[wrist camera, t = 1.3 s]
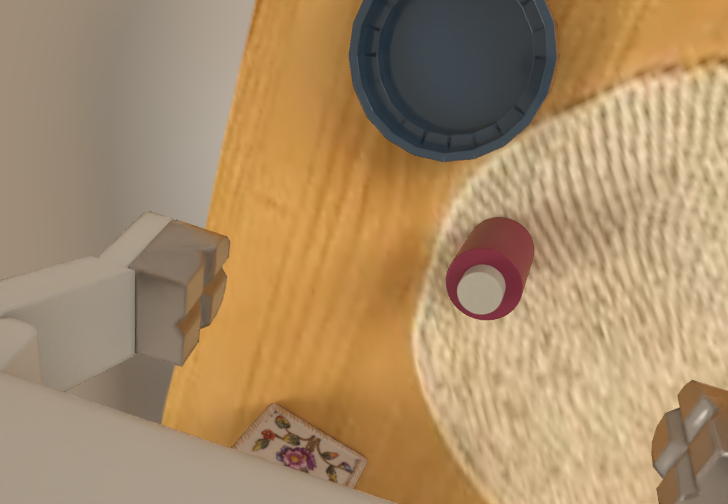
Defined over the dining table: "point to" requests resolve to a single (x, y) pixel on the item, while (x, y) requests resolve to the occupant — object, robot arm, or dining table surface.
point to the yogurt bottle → (491, 269)
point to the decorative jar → (300, 447)
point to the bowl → (453, 71)
